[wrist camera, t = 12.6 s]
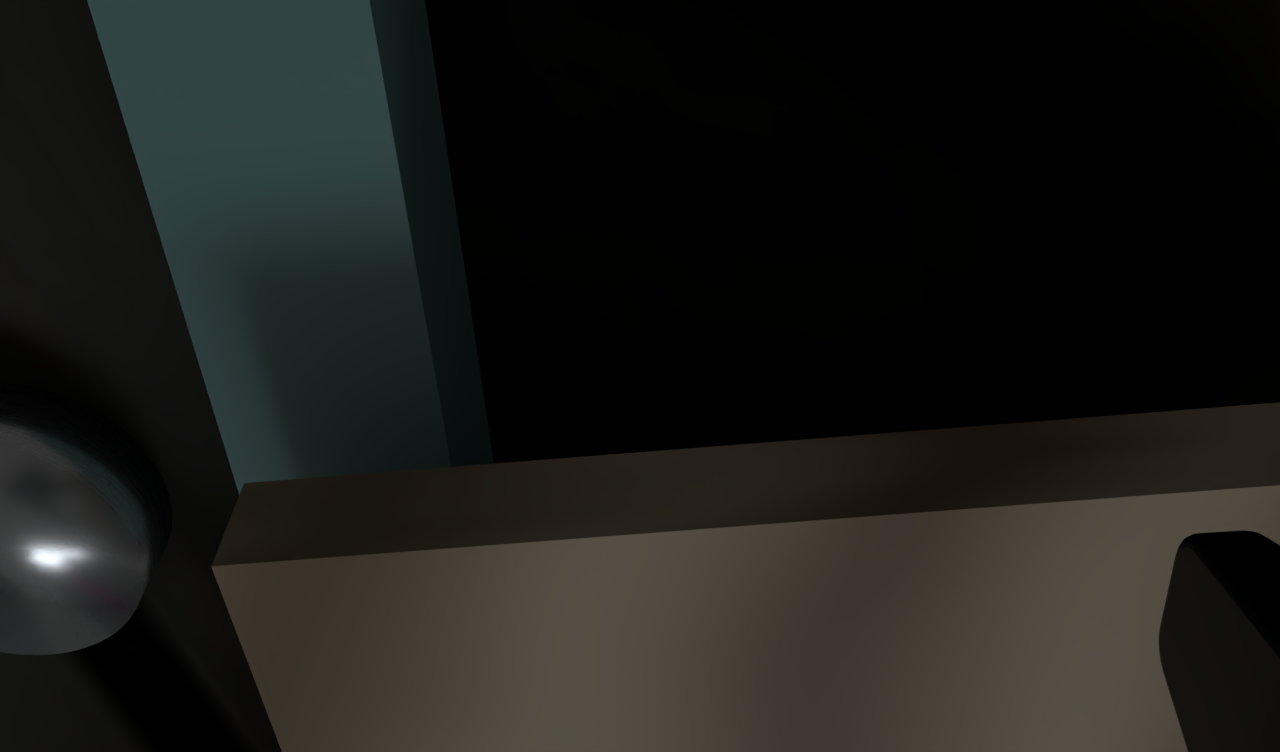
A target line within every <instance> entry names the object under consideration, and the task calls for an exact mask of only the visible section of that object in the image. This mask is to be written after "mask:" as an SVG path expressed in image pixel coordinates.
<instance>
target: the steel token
mask: <svg viewBox="0 0 1280 752" xmlns="http://www.w3.org/2000/svg"><path fill="white" fill-rule="evenodd" d="M171 526H172V508H171V503H170V498H169V494H168V491H167V489H166V486H165V483H164V481H163V479H162V477H161V475H160V473H159V471H158V470H157V468H156V466H155V465H154V463H153V462H152V461H151V459H150V458H149V457H148V455H147V454H146V452H145V451H144V450H143V449H142V448H141V447H140V446H139V445H138V444H137V443H136V442H135V441H134V440H133V439H132V438H131V437H130V436H129V435H128V434H126V433H125V432H124V431H123V430H122V429H121V428H120V427H118V426H117V425H115V424H114V423H113V422H111V421H110V420H108V419H107V418H105V417H104V416H102V415H101V414H99V413H97V412H95V411H94V410H92V409H90V408H88V407H87V406H85V405H82V404H80V403H78V402H76V401H74V400H71V399H69V398H67V397H64V396H61V395H58V394H55V393H52V392H50V391H47V390H43V389H38V388H34V387H30V386H26V385H19V384H12V383H4V382H0V652H3V653H11V654H22V655H48V654H58V653H65V652H71V651H75V650H79V649H83V648H86V647H88V646H91V645H94V644H96V643H99V642H101V641H102V640H104V639H106V638H108V637H110V636H111V635H113V634H114V633H115V632H116V631H118V630H119V629H120V628H122V627H123V626H124V624H125V623H126V622H127V621H128V620H129V619H130V618H131V616H132V615H133V613H134V611H135V610H136V608H137V606H138V604H139V602H140V600H141V598H142V596H143V594H144V592H145V590H146V588H147V585H148V583H149V581H150V579H151V577H152V575H153V573H154V571H155V569H156V566H157V564H158V562H159V560H160V558H161V556H162V554H163V552H164V550H165V548H166V545H167V542H168V539H169V537H170V532H171Z"/></svg>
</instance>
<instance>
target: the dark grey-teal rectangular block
mask: <svg viewBox="0 0 1280 752" xmlns="http://www.w3.org/2000/svg"><path fill="white" fill-rule="evenodd" d="M87 1H88V5H89V8H90V11H91V14H92V18H93V21H94V24H95V27H96V31H97V34H98V37H99V40H100V44H101V47H102V50H103V53H104V57H105V60H106V63H107V66H108V70H109V73H110V76H111V79H112V83H113V86H114V89H115V92H116V96H117V99H118V102H119V105H120V109H121V112H122V115H123V118H124V122H125V125H126V128H127V131H128V135H129V138H130V141H131V144H132V148H133V151H134V154H135V157H136V161H137V164H138V167H139V170H140V174H141V177H142V180H143V183H144V187H145V190H146V193H147V196H148V200H149V203H150V206H151V209H152V213H153V216H154V219H155V222H156V226H157V229H158V232H159V235H160V239H161V242H162V245H163V248H164V252H165V255H166V258H167V261H168V265H169V268H170V271H171V274H172V278H173V281H174V284H175V287H176V291H177V294H178V297H179V300H180V304H181V307H182V310H183V313H184V317H185V320H186V323H187V327H188V330H189V333H190V336H191V340H192V343H193V346H194V349H195V353H196V356H197V359H198V362H199V366H200V369H201V372H202V375H203V379H204V382H205V385H206V388H207V392H208V395H209V398H210V401H211V405H212V408H213V411H214V414H215V418H216V421H217V424H218V427H219V431H220V434H221V437H222V440H223V444H224V447H225V450H226V453H227V457H228V460H229V463H230V466H231V470H232V473H233V476H234V479H235V483H236V486H237V489H238V492H239V495H240V492H241V489H242V487H243V484H244V483H251V482H264V481H277V480H290V479H303V478H315V477H328V476H341V475H354V474H367V473H380V472H393V471H405V470H418V469H431V468H444V467H457V466H470V465H483V464H494V461H493V454H492V447H491V441H490V434H489V427H488V421H487V414H486V407H485V401H484V394H483V387H482V380H481V374H480V367H479V360H478V354H477V347H476V340H475V333H474V327H473V320H472V313H471V307H470V300H469V293H468V287H467V280H466V273H465V266H464V260H463V253H462V246H461V240H460V233H459V226H458V220H457V213H456V206H455V199H454V193H453V186H452V179H451V173H450V166H449V159H448V153H447V146H446V139H445V132H444V126H443V119H442V112H441V106H440V99H439V92H438V86H437V79H436V72H435V65H434V59H433V52H432V45H431V39H430V32H429V25H428V19H427V12H426V5H425V0H87Z"/></svg>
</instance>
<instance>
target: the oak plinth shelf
mask: <svg viewBox="0 0 1280 752" xmlns="http://www.w3.org/2000/svg"><path fill="white" fill-rule="evenodd" d="M1242 530H1245V531H1254V532H1257V533H1260V534H1262V535H1263V536H1265V537H1267V538H1269V539H1271V540H1272V541H1274V542H1275V543H1277V544H1279V545H1280V403H1267V404H1254V405H1241V406H1228V407H1215V408H1203V409H1190V410H1177V411H1164V412H1151V413H1138V414H1125V415H1113V416H1100V417H1087V418H1074V419H1061V420H1048V421H1035V422H1023V423H1010V424H997V425H984V426H971V427H958V428H945V429H933V430H920V431H907V432H894V433H881V434H868V435H855V436H843V437H830V438H817V439H804V440H791V441H778V442H765V443H753V444H740V445H727V446H714V447H701V448H688V449H675V450H663V451H650V452H637V453H624V454H611V455H598V456H585V457H573V458H560V459H547V460H534V461H521V462H508V463H495V464H483V465H470V466H457V467H444V468H431V469H418V470H405V471H393V472H380V473H367V474H354V475H341V476H328V477H315V478H303V479H290V480H277V481H264V482H251V483H244V484H243V487H242V489H241V492H240V495H239V497H238V500H237V502H236V505H235V507H234V510H233V512H232V515H231V518H230V520H229V523H228V525H227V528H226V530H225V533H224V535H223V538H222V541H221V543H220V546H219V548H218V551H217V553H216V556H215V558H214V561H213V563H212V566H211V567H212V570H213V572H214V575H215V577H216V580H217V583H218V585H219V588H220V591H221V593H222V596H223V598H224V601H225V604H226V606H227V609H228V612H229V614H230V617H231V619H232V622H233V625H234V627H235V630H236V633H237V635H238V638H239V640H240V643H241V646H242V648H243V651H244V654H245V656H246V659H247V661H248V664H249V667H250V669H251V672H252V675H253V677H254V680H255V682H256V685H257V688H258V690H259V693H260V696H261V698H262V701H263V703H264V706H265V709H266V711H267V714H268V717H269V719H270V722H271V724H272V727H273V730H274V732H275V735H276V738H277V740H278V743H279V745H280V748H281V751H282V752H1188V751H1187V747H1186V744H1185V741H1184V738H1183V734H1182V731H1181V728H1180V725H1179V722H1178V718H1177V715H1176V712H1175V709H1174V705H1173V702H1172V699H1171V696H1170V692H1169V689H1168V686H1167V683H1166V680H1165V676H1164V673H1163V669H1162V666H1161V660H1160V654H1159V630H1160V624H1161V620H1162V615H1163V610H1164V606H1165V601H1166V597H1167V592H1168V588H1169V583H1170V578H1171V574H1172V569H1173V565H1174V560H1175V556H1176V553H1177V550H1178V547H1179V545H1180V544H1181V542H1182V541H1183V540H1184V539H1185V538H1186V537H1188V536H1190V535H1192V534H1196V533H1209V532H1226V531H1242Z"/></svg>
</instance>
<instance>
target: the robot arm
mask: <svg viewBox="0 0 1280 752" xmlns="http://www.w3.org/2000/svg"><path fill="white" fill-rule="evenodd" d="M1159 654H1160V660H1161V666H1162V669H1163V673H1164V676H1165V680H1166V683H1167V686H1168V689H1169V692H1170V696H1171V699H1172V702H1173V705H1174V709H1175V712H1176V715H1177V718H1178V722H1179V725H1180V728H1181V731H1182V734H1183V738H1184V741H1185V744H1186V747H1187V751H1188V752H1280V545H1279V544H1277V543H1275V542H1274V541H1272V540H1271V539H1269V538H1267V537H1265V536H1263V535H1262V534H1260V533H1257V532H1254V531H1245V530H1242V531H1226V532H1209V533H1196V534H1192V535H1190V536H1188V537H1186V538H1185V539H1184V540H1183V541H1182V542H1181V544H1180V545H1179V547H1178V550H1177V553H1176V556H1175V560H1174V565H1173V569H1172V574H1171V578H1170V583H1169V588H1168V592H1167V597H1166V601H1165V606H1164V610H1163V615H1162V620H1161V624H1160V630H1159Z"/></svg>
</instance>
